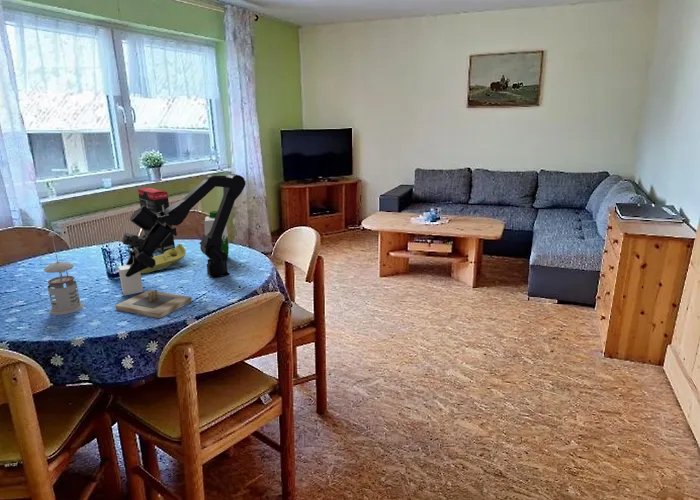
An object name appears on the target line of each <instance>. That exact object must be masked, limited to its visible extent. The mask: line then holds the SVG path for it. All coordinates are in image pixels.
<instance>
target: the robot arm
mask: <svg viewBox="0 0 700 500" xmlns="http://www.w3.org/2000/svg"><path fill="white" fill-rule="evenodd" d="M245 187H246V180H245V178H244V177H243V176H242V175H241V174H236V173H229V174H227V175H213V174H208V175H207V176H206V177H205V178H204V179H203V180H202V181H201V182H200V183H198V185H196V187H194V188H193V189H192V190H191V191H190V192H189V193H188V194H187V195H185V196H184V197H183V198H182V199H180V200H179V201H177V202H174V203H173V204H171V205H169V207H168V208H166V209H165V210H164V211H163V212H159V213H155V214H154V213H153V212H151V211H150V210H149V209H148V208H147V207H146V206H144V205H143V206H142V207H139V208H137V210H134V212H133V213H132V214H131V216H130V218H129V221H130V222H131V223H133V224H134V225H136V227H138V228H140V229H142V230H143V231H144V230H146V229H148V230H150V229H151V228H152V227H153V226H154V227H153V228H152V229H151V230H150V232H149V233H148V234H147V235H146V234H145V233H144V234H143V235H142V236H138V235H135V234H134V233H128V232H124V234H123V237H122V240H121V242H122V244H123V245H125V246H127V247H128V248H129V249H128V252H129V253H128V254H129V257H128V260H127V262H126V264H125V265H130V264H132V265H131V266H130V268H129V270H128V271H127V273H126V276H127V277H130V276H132V275H133V274H135V273H137V272H139V271H141V270H144V269H146V268H149V267H150V268H153V267H154V266H155V264H156V263H155V260H154V258H153V257H154V256H155V255H154V254H155V252H157V249H158V248H159V249H160V248H161V247H162V246H161V244H162V243H163V242H164V240H165V239H166V238H167V237H168V236H169V234H170V233H172V234H173V236H174V237H176V236H178V233H177V227H175V226H180V225H181V224H182V223H183V222H184V220H185V219H186V218H187V216H188V215H189V213H190V211H191V210H192V209H193V208H194V207H195V206H196V205H197V204H198V203H200V201H202V200H203V199H204V198H205V196H207V195H208V194H209V193H210V192H212V190H213V189H215V188H222V189H223V194H222V195H223V196H222V198H221V201H220V203H219V206H218V210H217V211H218V212H217V214H216V217H215V220H214V223H213V225H212V228H211V231H210V232H209V233H208V234H207V235H205V233H203V234H202V237H201V241H200V242H199V245H200V246H199V247H200V251H201V252H202V253H203V254H204V255H205V256H206V257H207V258H208V259H207V263H206V270H207V271H206V272H207V274H206V275H207V276H209V277H211V278H213V279H217V278H221V277H225V276H230V272H228V270H229V269H228V261H227V257H228V258H229V254H228V255H227V254H225V253H224V252H222V251H221V248H222V235H223V232H224V229H225V226H226V224H227V223H228V221H229V218H230V216H231V212H232V210H233V207H234V205H235V201H236V200H237V199H238V198H239V196H241V194H242V192H243V191H244V189H245ZM157 219H159V220H160V221H161V222H165V223H163V224H161V223H159V222H158V221H157ZM155 223H156V224H155ZM166 223H169V224H171V225H172V227H170V226H169V225H168V224H166ZM209 258H210V259H209Z"/></svg>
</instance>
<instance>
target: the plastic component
mask: <svg viewBox="0 0 700 500" xmlns="http://www.w3.org/2000/svg"><path fill="white" fill-rule="evenodd" d="M185 256H186V249H185V247H184V246H183V244H181V243H180V244H179V243H178V244H177V245H176V246H175V248H172V249H169V250H167V251H165V252H163V253H162V254H158V255H154V257H153V258H154V260H155V263H156V264H155V266H154V267H153V268H150V267H149V268H146V269H144V270H141V271H140V273H141V274H147V273H151V272H155V271H157V270H158V271H159V270H161V269H165V268H168V267H170V266H171V264H172V265H175V264H178V263H179V261H181V260H182V259H184V257H185Z"/></svg>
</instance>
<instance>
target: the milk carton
mask: <svg viewBox="0 0 700 500" xmlns="http://www.w3.org/2000/svg"><path fill="white" fill-rule="evenodd" d="M217 212H218V210H213V211H209V216H205V217H204V218H205V219H204V234H205V235H207V234H208V233H209V232H210V231H211V228H212V225H213V223H214V220H215V217H216V214H217ZM229 246H230V245H229V235H228V227H227V224H226V226H225V229H224V232H223V235H222V248H221V251H222V252H224V253H225V254H227V255H228V257H227V262H229V261H228V260H229ZM208 259H210V258H208Z"/></svg>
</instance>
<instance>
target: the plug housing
mask: <svg viewBox="0 0 700 500" xmlns="http://www.w3.org/2000/svg"><path fill="white" fill-rule="evenodd" d="M131 265H132V264H130V265H126V264H125V265H120V266H117V267H118V274H119V279H120V284H121V292H122V293H123V296H128V295H133V294H138V293H140V294H141V293H144V288H143V281H142V273H140V271H139V272H137V273H135V274H133V275H132V276H130V277H127V276H126V273H127V271H128V270H129V268H130V266H131Z"/></svg>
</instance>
